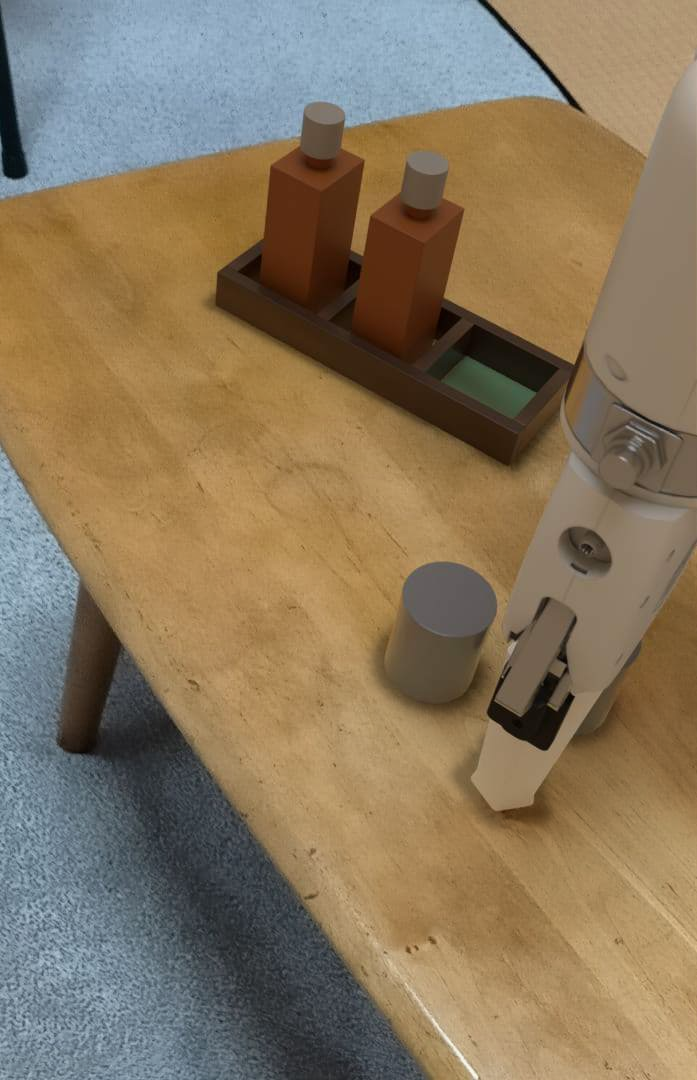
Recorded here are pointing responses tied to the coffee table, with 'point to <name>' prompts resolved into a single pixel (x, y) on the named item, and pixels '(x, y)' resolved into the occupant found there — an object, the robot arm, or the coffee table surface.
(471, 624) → the grey upright cylinder
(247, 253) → the rack
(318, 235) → the amber bottle
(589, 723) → the grey jar
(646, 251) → the robot arm
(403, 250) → the amber bottle
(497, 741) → the perfume bottle
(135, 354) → the coffee table surface
